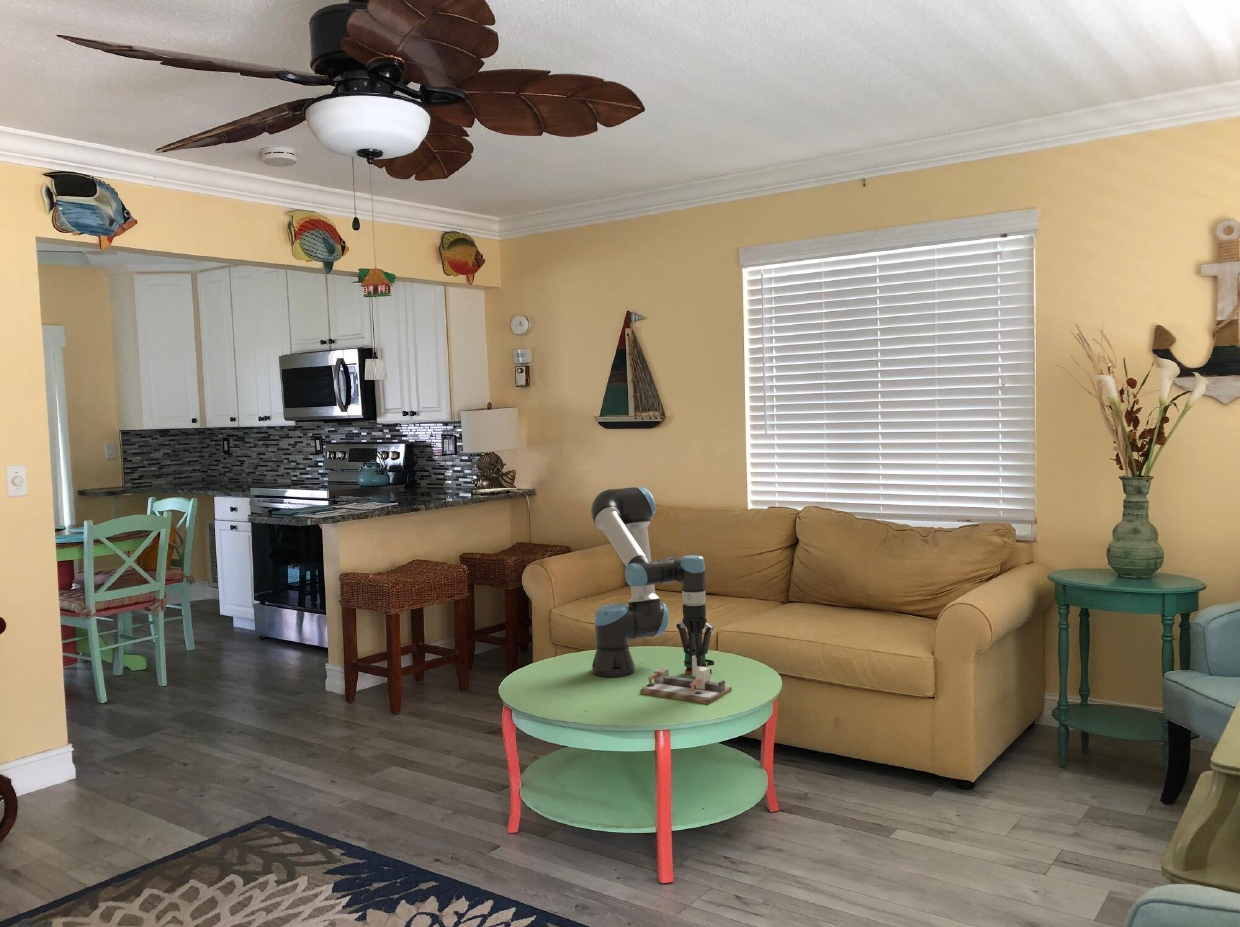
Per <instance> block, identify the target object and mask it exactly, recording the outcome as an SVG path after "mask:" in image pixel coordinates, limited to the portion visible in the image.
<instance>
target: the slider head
mask: <svg viewBox="0 0 1240 927" xmlns="http://www.w3.org/2000/svg"><path fill="white" fill-rule="evenodd" d="M710 669H711V667H709V666H708V667H707V666H706V667H700V668H698V669H696V670H695V675H696V677H695V680H696V681H694V682H692V683H690V686H691V691H694V686H695V685H696V689H703V690H704V689H705V683H706V682H707V681H708V682H711V673H710Z"/></svg>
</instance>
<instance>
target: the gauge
mask: <svg viewBox="0 0 1240 927" xmlns="http://www.w3.org/2000/svg"><path fill="white" fill-rule="evenodd" d="M669 674H670V672H669V668H663V667H659V668H658V669H655V670H653V675H651V676H648V677H647V680H648V684H646V685H645V686H643V687H642V688H641V689H639V690H640V692H639V693H640V694H641V695H645V696H646V695H647V696H655V697H658V698H664V699H665V698H666V699H673V700H679V701H686V702H691V703H696V704H697V703H698V704H705V705H710V704H712V703H714V702H715V701H717V700H719V699H720V698H722V697H724V696H725V695H727V694H729V693H731V692H732V691H733V689H732V688H733V687H732V686H726V680H723V679H722V680H720V681H718V682H715V681H714V682H713V681H710V682H708V681H707V682H706V683H705V689H704V690H703V689H696V685H695V686H694V691H691V686H690V683H692V682H694V681H696V679H693V678H686V677H679V676H672V675H669ZM652 680H653V681H652Z"/></svg>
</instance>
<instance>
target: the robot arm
mask: <svg viewBox="0 0 1240 927" xmlns="http://www.w3.org/2000/svg"><path fill="white" fill-rule="evenodd" d="M590 513H591V518H592V520H593V523H594V524H595V526H596V527H597V528H598V529H599V530H602V532H603V533H604V535H605V536H606V538H607V540H608V541H609V543H610V544H611V545H612V548H613V549H614V550H615V552H616V553H617V555H618V556H619V558H620V560H621V561H622V562H623V564H624V565H625V569H624V577H625V581H626V583H627V585H628V586H630V594H631V597H630V598H629V599H628V601H627V603H628V605H627V604H626V603H623V602H618V603H608V604H606V605H602V606H600V607H599V608H597V610H596V611H595V616H594V625H595V626H594V627H595V628H594V629H595V647H596V648H595V654H594V658H593V661H592V665H591V673H592V674H593V675H594V676H598V677H605V678H617V677H625V676H629V675H632V674H633V673H634V672H635V671H636V670H635V666H636V665H635V662H634V659H633V656H632V653H631V651H630V642H629V641H631V640H637V639H644V638H645V639H646V638H654V637H657V636H661V635H663V634H664V633H665V632H666V630H667V628H668V625H669V621H670V620H669V618H670V616H669V610H668V608H667V605H666V603H664V602H662V601H661V597H660V596H659V595H658V594H657V593H656V589H655V585H657V584H658V585H659V584H669V583H676V582H677V583H680V584H681V592H682V593H681V596H682V603H683V604H682V616H683V618H682V621H681V622H679V623H676V625H675V626H676V628H677V630H678V632H679V636H680V641H681V645H682V649H683V653H684V654H685V653H687V654H689V655H690V665H692V674H691V675H692V677H695V678H696V675H695V670H696V669H698V668H700V666H701V665H702V655H705V656H706V655H707V654H708V652H709V646H710V642H711V641H710V640H711V636H712V632H713V630H714V629H715V626H714V625H710V624H709V623H708V620H707V605H706V602H707V599H706V566H705V559H704V557H703V556H702V555H695V554H692V555H691V554H689V555H683V556H682V557H681V558H679V557H668V558H666V559H664V560H654V561H652V556H651V548H650V547H651V546H650V539H649V531H648V527H649V526H650V524H651V523H652V521H651V519H652V518H653V517H654V516H655V514H656V502H655V499H654V496H653V495H652V492H651V491H650V490H649V489H647V488H645V487H641V486H640V487H637V486H634V487H624V488H623V487H622V488H614V489H613V488H610V489H609V488H608V489H605V490H604V491H601V492H600V493H599V494H597V495H596V497H595V498H594V499H593V502H592V504H591V512H590ZM695 654H696V655H695Z"/></svg>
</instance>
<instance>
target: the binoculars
mask: <svg viewBox="0 0 1240 927" xmlns="http://www.w3.org/2000/svg"><path fill="white" fill-rule="evenodd" d="M695 655H696V654H695ZM683 665H684V667H685V670H684V674H685V675H692V665H690V655H689V654H687V653H684V660H683ZM714 665H715V661H714V660H711V659H706V654H705V655H702V665H701V666H700V667H708V668H709V667H711V666H714ZM710 674H712V669H711V668H710Z"/></svg>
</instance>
